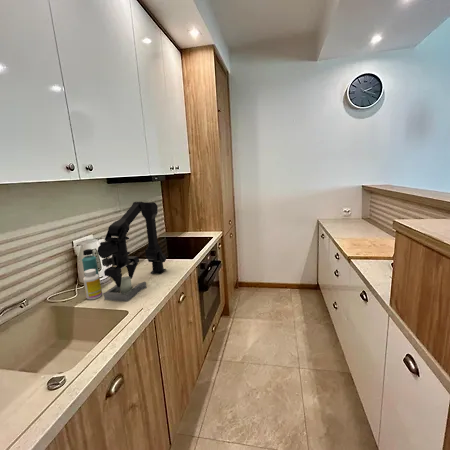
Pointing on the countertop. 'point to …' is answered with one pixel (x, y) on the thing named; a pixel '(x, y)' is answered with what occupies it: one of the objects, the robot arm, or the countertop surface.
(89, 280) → the supplement bottle
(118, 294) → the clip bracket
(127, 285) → the grey rounded piece
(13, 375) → the countertop surface
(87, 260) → the beverage bottle
